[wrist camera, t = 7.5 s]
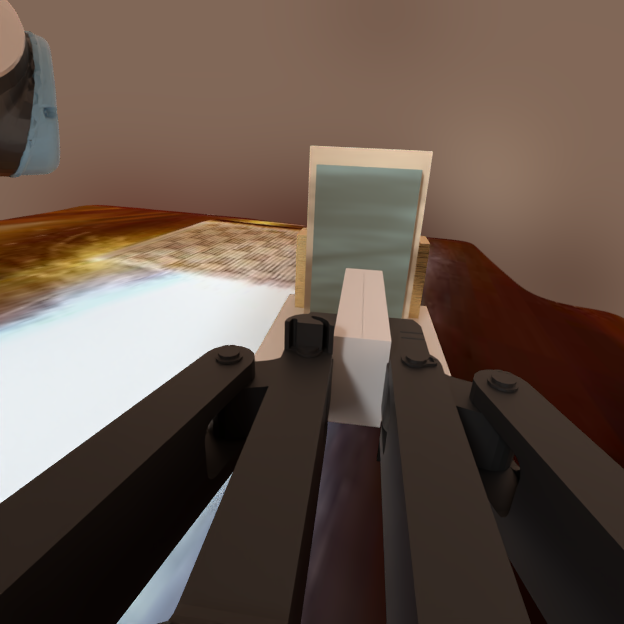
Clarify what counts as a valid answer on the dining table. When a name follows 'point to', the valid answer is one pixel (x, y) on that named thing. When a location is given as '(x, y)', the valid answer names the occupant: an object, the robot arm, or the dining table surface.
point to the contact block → (417, 283)
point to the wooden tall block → (364, 222)
